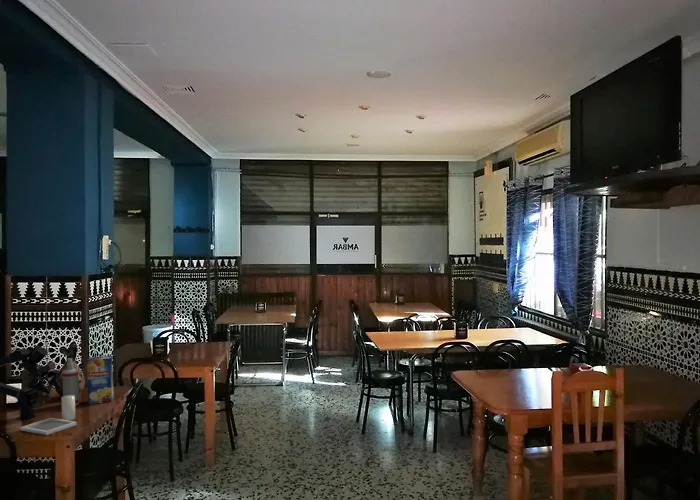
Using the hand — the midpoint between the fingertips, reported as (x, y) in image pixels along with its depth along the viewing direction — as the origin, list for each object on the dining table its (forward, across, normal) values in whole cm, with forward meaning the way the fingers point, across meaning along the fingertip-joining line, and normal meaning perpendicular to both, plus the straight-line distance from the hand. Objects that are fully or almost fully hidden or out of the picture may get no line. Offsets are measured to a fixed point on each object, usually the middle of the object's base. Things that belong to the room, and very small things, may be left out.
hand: (55, 390), depth 295 cm
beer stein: (-7, +23, +27) cm, 36 cm away
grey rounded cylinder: (+15, -1, +4) cm, 16 cm away
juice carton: (+15, +31, +4) cm, 35 cm away
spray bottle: (+5, +24, +14) cm, 29 cm away
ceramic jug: (-1, +40, +20) cm, 45 cm away
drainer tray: (+14, -16, +5) cm, 22 cm away
